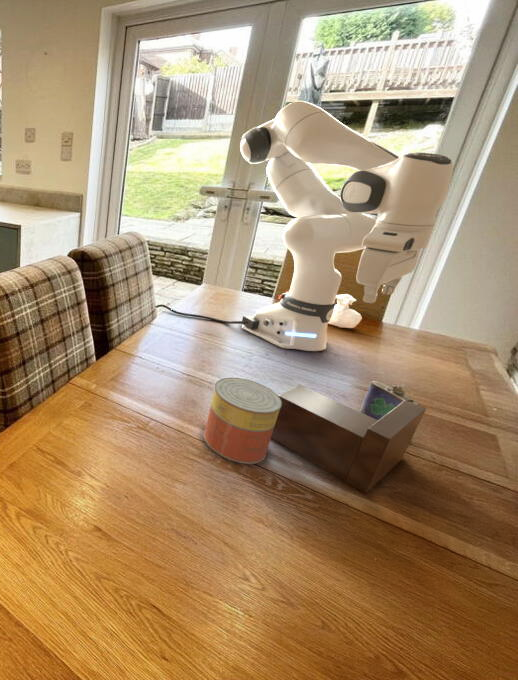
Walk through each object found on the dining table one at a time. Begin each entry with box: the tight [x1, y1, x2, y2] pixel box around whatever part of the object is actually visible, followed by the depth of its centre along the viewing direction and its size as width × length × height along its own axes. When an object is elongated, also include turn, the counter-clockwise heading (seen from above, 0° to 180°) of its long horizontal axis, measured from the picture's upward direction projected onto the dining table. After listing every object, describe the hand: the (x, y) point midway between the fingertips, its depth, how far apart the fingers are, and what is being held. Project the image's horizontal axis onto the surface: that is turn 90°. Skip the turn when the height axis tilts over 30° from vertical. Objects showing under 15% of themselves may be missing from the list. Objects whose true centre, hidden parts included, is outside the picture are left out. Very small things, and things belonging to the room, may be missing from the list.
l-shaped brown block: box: [270, 384, 427, 494], centre depth 77 cm, size 17×16×12 cm
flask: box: [358, 380, 420, 420], centre depth 83 cm, size 9×3×11 cm, turn 8°
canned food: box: [203, 377, 282, 465], centre depth 78 cm, size 11×11×12 cm
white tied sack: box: [328, 293, 363, 329], centre depth 132 cm, size 12×8×11 cm
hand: (378, 297), depth 87 cm, fingers open, 8 cm apart
